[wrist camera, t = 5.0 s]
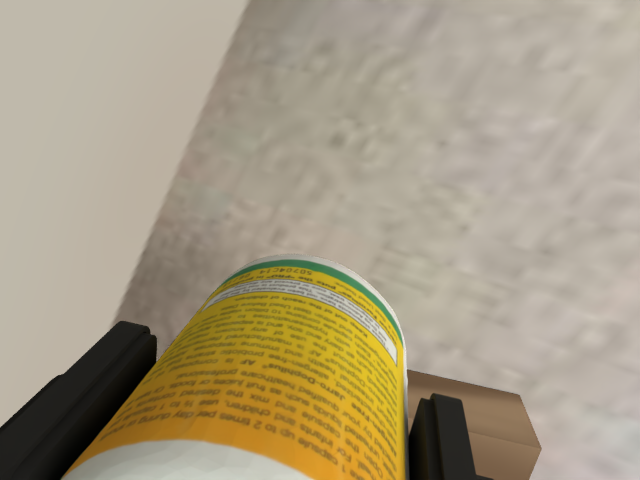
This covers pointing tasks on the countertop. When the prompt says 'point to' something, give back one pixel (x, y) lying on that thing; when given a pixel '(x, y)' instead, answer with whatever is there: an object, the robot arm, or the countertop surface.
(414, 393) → the socket block
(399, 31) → the countertop surface
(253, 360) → the supplement bottle
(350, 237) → the countertop surface
